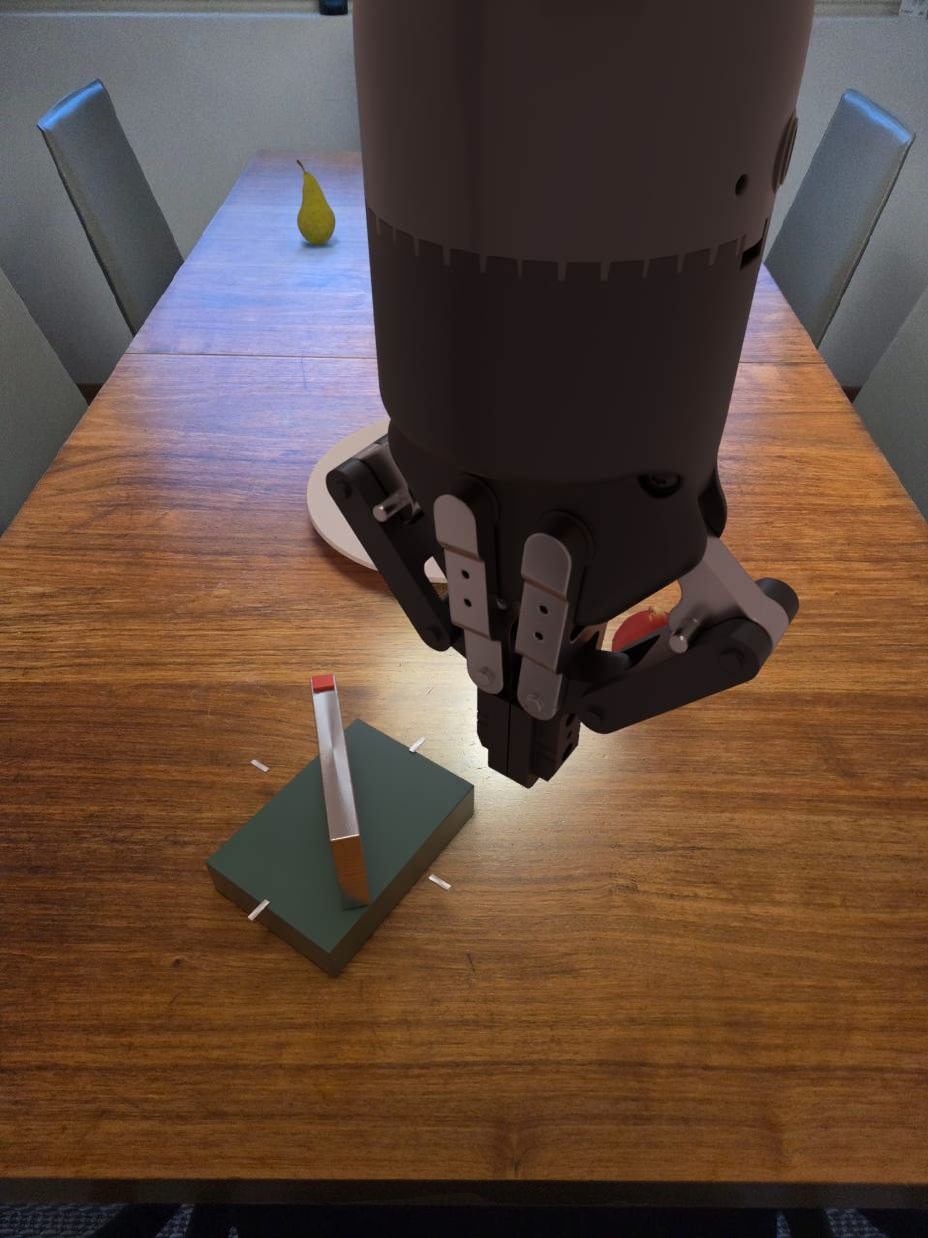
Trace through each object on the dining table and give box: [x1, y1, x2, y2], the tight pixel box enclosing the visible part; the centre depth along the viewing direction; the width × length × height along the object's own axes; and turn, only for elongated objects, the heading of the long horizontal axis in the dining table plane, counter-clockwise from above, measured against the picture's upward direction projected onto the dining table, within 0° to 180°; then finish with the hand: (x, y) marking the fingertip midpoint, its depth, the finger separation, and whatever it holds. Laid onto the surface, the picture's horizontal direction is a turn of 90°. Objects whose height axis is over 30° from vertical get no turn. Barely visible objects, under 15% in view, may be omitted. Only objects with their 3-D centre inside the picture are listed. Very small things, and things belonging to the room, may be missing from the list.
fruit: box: [296, 159, 336, 246], centre depth 133 cm, size 6×6×12 cm
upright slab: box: [308, 673, 371, 910], centre depth 52 cm, size 12×2×7 cm, turn 13°
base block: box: [205, 717, 475, 979], centre depth 55 cm, size 16×16×3 cm
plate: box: [305, 417, 447, 584], centre depth 81 cm, size 28×28×9 cm
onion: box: [610, 605, 669, 652], centre depth 64 cm, size 6×6×8 cm
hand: (526, 761), depth 28 cm, fingers closed
